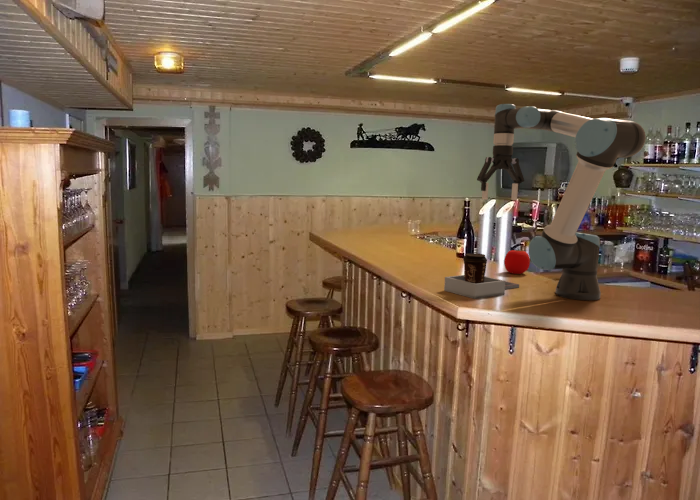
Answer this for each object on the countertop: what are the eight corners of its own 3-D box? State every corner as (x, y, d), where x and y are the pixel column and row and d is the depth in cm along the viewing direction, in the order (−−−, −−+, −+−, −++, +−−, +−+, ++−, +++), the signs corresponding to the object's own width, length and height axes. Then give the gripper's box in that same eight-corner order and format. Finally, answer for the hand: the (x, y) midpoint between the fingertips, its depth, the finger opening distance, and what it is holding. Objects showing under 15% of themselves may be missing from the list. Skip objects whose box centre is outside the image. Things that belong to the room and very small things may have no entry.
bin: (504, 294, 194) (505, 280, 194) (474, 298, 186) (475, 284, 185) (473, 286, 207) (473, 273, 206) (444, 290, 198) (444, 277, 198)
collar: (519, 287, 208) (519, 284, 208) (492, 291, 199) (492, 287, 199) (489, 280, 220) (489, 277, 220) (462, 283, 212) (462, 280, 212)
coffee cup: (463, 286, 202) (465, 252, 200) (486, 288, 199) (488, 253, 198) (459, 291, 194) (461, 255, 192) (483, 293, 191) (486, 256, 190)
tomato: (498, 271, 242) (499, 247, 240) (517, 270, 246) (519, 247, 245) (514, 276, 232) (516, 251, 231) (533, 275, 236) (535, 250, 235)
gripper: (523, 147, 220) (520, 199, 223) (470, 144, 212) (467, 198, 215) (535, 146, 213) (531, 200, 216) (480, 143, 205) (477, 199, 208)
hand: (499, 199), depth 215 cm, fingers open, 13 cm apart
